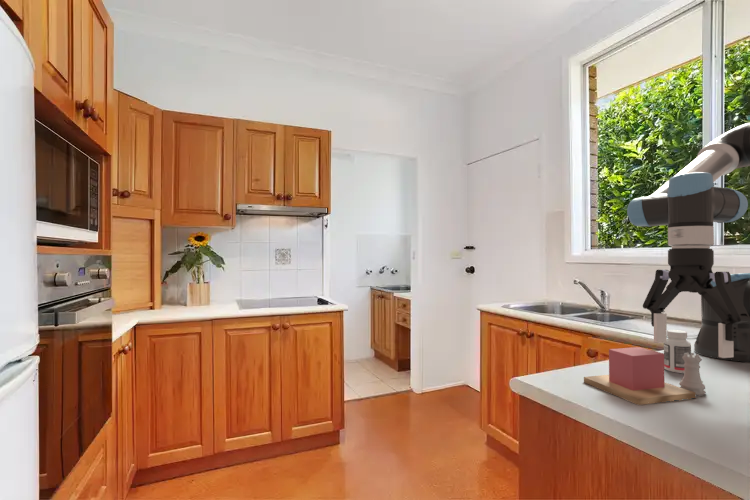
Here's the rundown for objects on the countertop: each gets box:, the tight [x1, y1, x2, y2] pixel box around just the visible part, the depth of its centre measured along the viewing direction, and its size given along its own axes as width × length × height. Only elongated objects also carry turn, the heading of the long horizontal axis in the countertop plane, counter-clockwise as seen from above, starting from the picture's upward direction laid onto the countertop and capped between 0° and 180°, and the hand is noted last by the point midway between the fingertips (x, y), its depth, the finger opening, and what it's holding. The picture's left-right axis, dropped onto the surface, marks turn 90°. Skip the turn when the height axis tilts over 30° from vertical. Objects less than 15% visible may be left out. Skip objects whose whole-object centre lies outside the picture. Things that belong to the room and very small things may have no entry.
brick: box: [608, 346, 666, 390], centre depth 85 cm, size 8×6×7 cm
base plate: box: [583, 374, 697, 406], centre depth 85 cm, size 14×14×1 cm
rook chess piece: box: [678, 352, 707, 396], centre depth 83 cm, size 4×4×8 cm
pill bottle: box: [663, 329, 692, 374], centre depth 98 cm, size 5×5×10 cm
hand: (690, 349), depth 83 cm, fingers open, 13 cm apart
